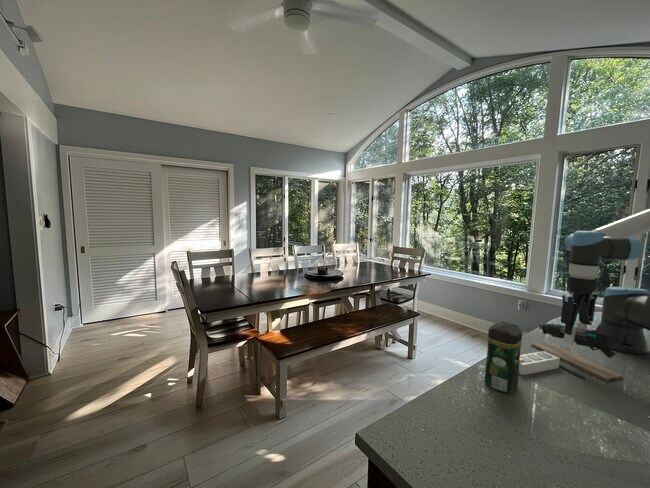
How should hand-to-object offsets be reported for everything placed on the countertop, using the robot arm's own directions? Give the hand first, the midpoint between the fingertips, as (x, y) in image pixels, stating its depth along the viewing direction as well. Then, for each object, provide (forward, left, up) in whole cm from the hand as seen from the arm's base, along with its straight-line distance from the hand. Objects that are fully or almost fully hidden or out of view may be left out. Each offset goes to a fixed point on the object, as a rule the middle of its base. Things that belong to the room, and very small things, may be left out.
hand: (574, 341), depth 100 cm
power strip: (+17, +4, -7) cm, 19 cm away
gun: (0, 0, -1) cm, 1 cm away
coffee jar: (+37, +4, -7) cm, 38 cm away
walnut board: (0, 0, -7) cm, 7 cm away
